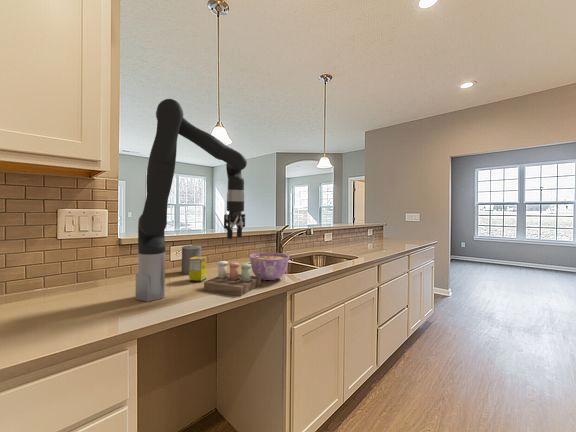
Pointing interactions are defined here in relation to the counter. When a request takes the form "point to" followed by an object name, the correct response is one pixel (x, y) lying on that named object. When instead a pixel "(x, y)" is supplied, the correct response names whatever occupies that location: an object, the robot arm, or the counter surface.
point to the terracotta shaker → (234, 270)
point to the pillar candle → (189, 256)
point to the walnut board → (232, 285)
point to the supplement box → (197, 269)
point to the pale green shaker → (246, 272)
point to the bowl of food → (269, 265)
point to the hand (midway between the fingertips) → (234, 237)
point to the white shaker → (222, 269)
